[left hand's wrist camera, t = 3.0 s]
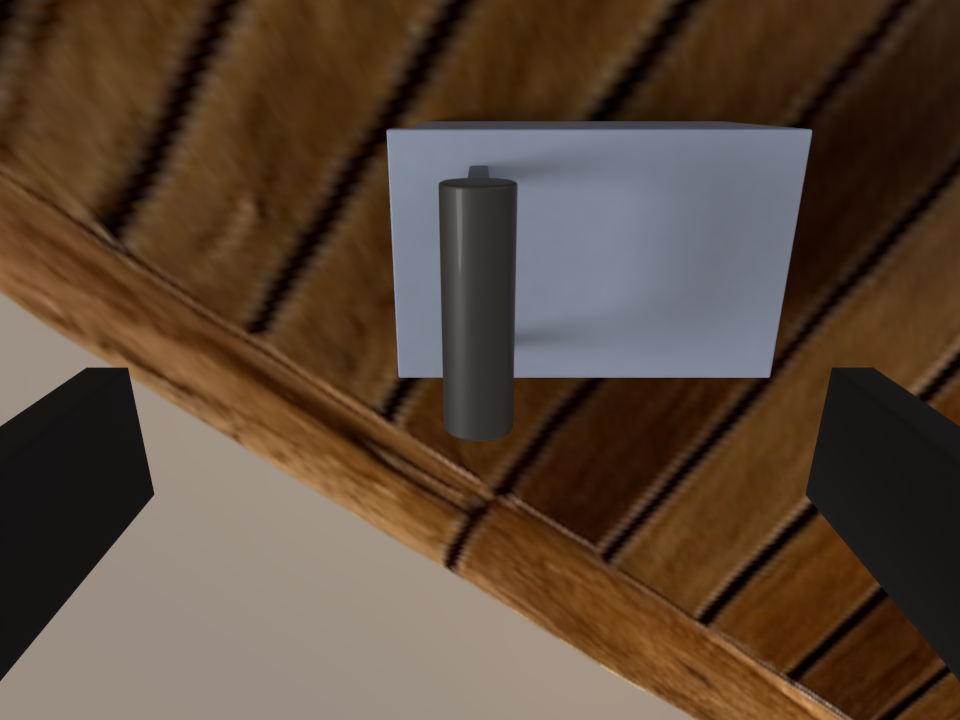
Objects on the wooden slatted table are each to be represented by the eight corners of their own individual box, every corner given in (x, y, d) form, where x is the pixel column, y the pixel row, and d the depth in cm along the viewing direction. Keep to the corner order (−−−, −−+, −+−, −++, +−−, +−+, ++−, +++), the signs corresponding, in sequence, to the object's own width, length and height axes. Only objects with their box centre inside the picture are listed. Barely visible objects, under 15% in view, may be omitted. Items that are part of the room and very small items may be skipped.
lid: (400, 370, 28) (369, 474, 20) (389, 128, 25) (346, 141, 17) (762, 370, 28) (870, 474, 20) (802, 128, 25) (952, 141, 17)
